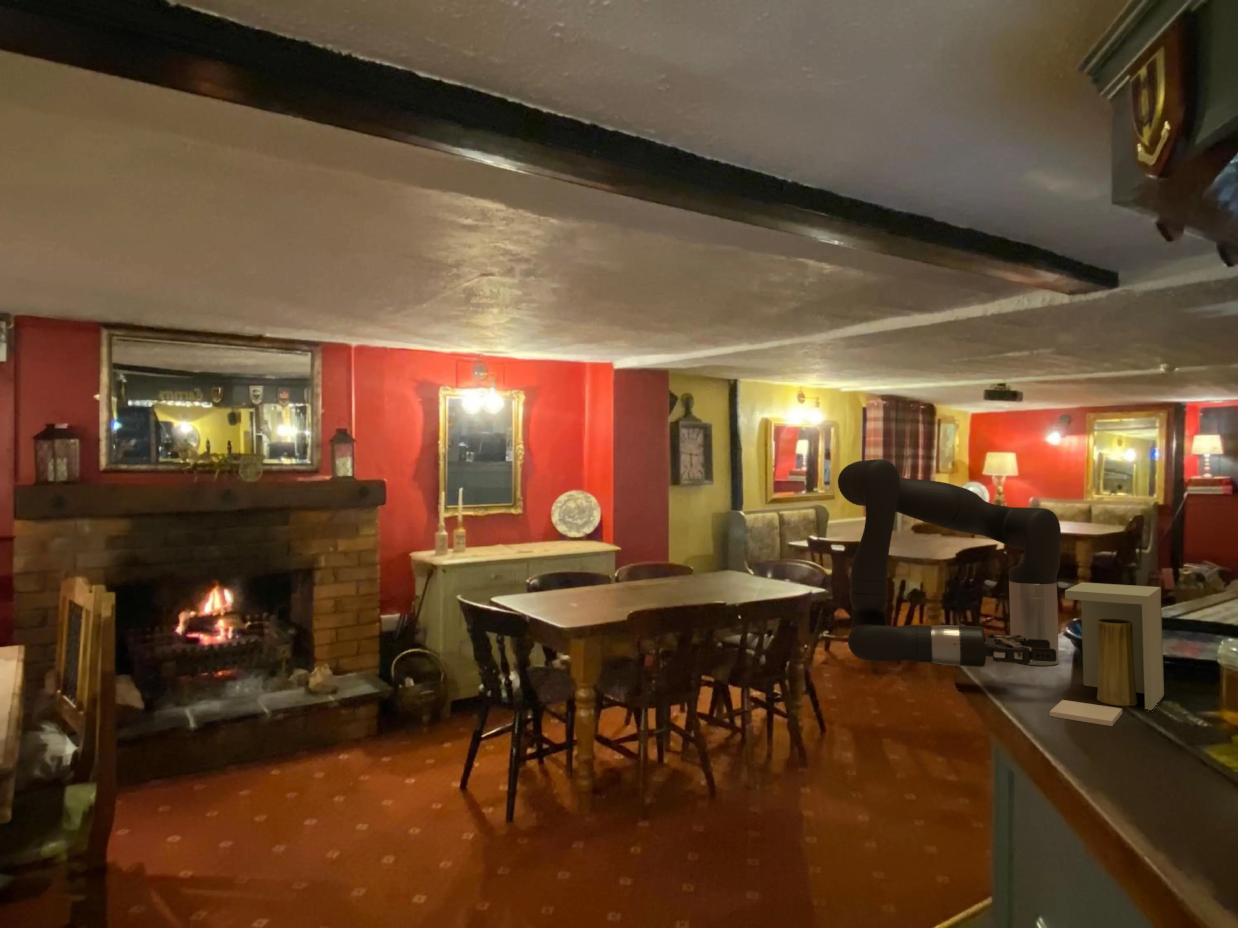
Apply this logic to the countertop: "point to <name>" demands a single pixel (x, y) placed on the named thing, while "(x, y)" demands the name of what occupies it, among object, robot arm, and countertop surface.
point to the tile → (1086, 712)
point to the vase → (1116, 663)
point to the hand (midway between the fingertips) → (1052, 650)
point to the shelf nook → (1147, 631)
